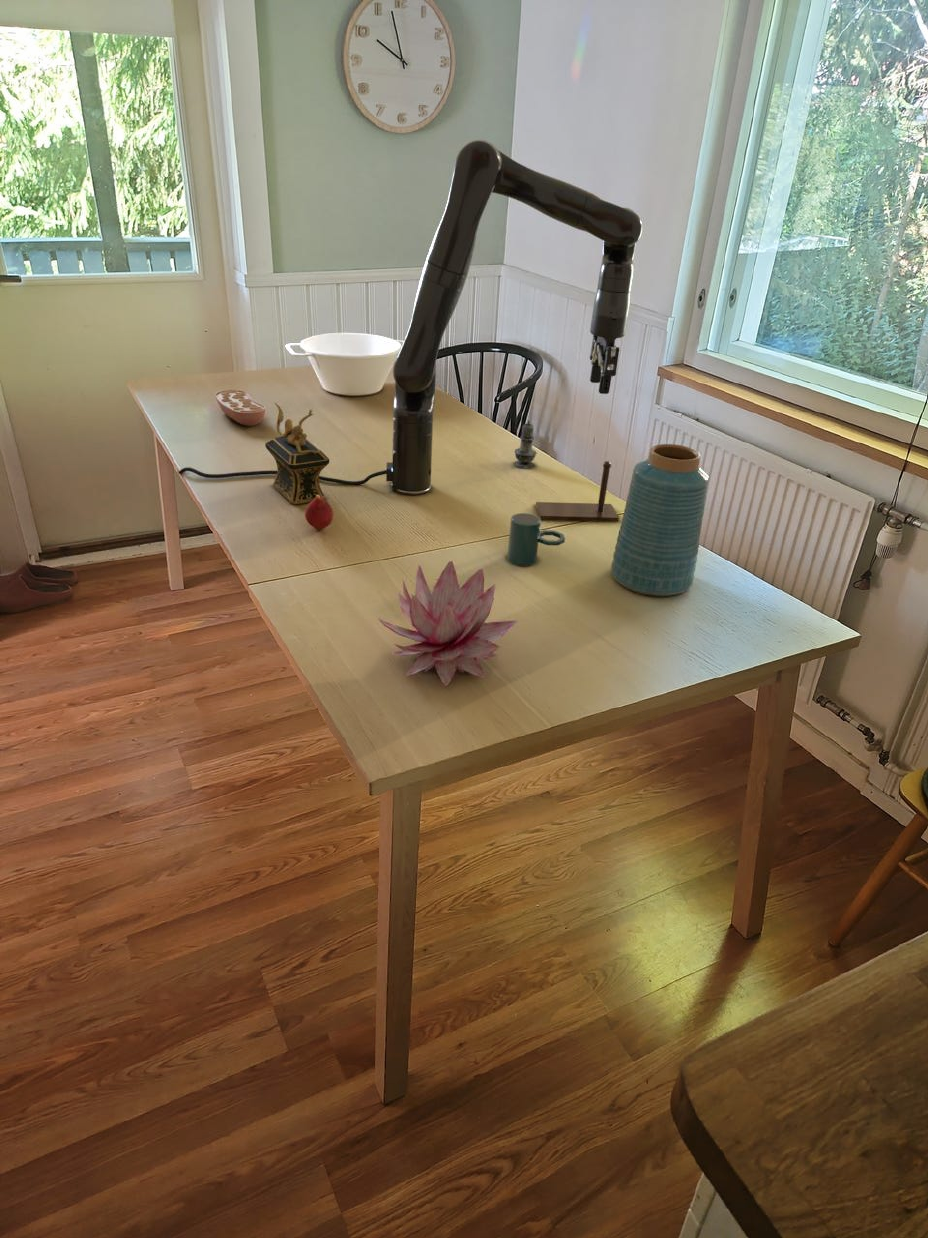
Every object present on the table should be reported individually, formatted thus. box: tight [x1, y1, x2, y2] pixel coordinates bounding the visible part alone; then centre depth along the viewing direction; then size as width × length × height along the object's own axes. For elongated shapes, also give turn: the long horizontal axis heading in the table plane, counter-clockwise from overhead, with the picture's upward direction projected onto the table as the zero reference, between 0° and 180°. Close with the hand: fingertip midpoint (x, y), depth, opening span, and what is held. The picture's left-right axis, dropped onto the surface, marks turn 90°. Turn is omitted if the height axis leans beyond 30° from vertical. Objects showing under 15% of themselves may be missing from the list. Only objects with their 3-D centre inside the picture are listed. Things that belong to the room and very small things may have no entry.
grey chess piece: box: [513, 419, 538, 470], centre depth 217 cm, size 6×6×12 cm
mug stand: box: [535, 460, 620, 523], centre depth 191 cm, size 18×8×13 cm, turn 94°
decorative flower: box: [376, 560, 518, 686], centre depth 134 cm, size 21×21×15 cm
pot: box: [285, 332, 404, 397], centre depth 268 cm, size 40×32×14 cm
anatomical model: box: [214, 389, 266, 427], centre depth 238 cm, size 23×10×5 cm, turn 32°
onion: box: [304, 495, 334, 531], centre depth 177 cm, size 6×6×8 cm
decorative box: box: [264, 402, 330, 505], centre depth 192 cm, size 20×10×20 cm, turn 31°
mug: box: [507, 512, 566, 567], centre depth 170 cm, size 11×6×9 cm, turn 94°
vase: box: [610, 443, 710, 598], centre depth 161 cm, size 16×16×27 cm
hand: (599, 387), depth 187 cm, fingers open, 8 cm apart
